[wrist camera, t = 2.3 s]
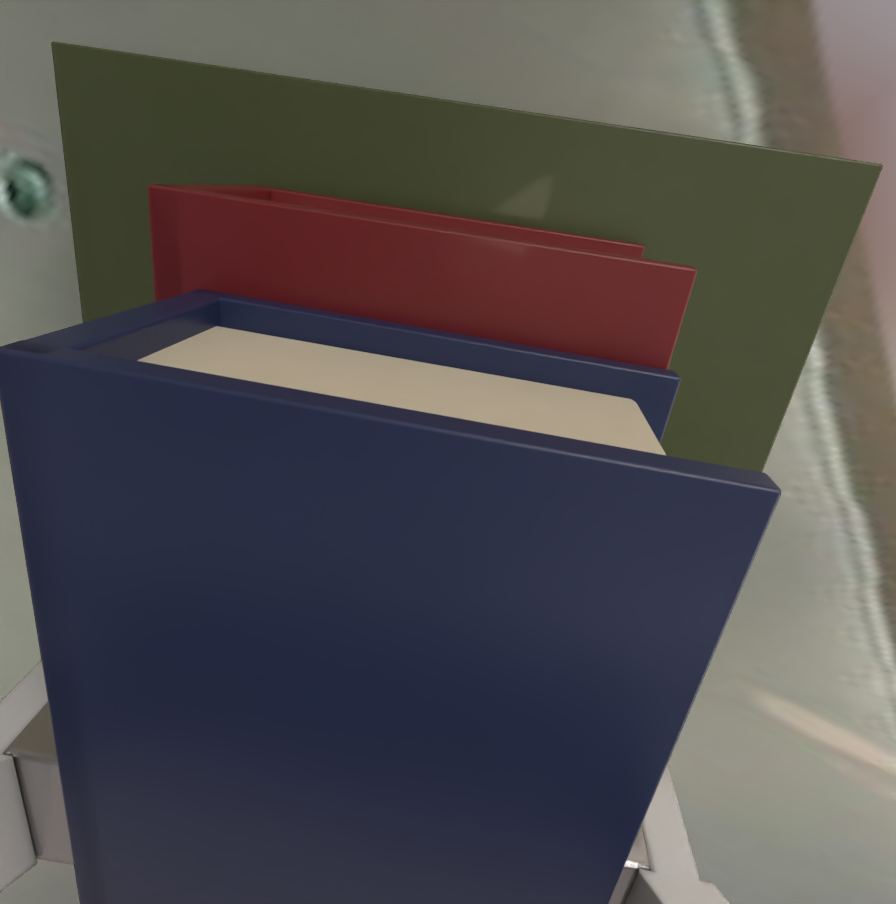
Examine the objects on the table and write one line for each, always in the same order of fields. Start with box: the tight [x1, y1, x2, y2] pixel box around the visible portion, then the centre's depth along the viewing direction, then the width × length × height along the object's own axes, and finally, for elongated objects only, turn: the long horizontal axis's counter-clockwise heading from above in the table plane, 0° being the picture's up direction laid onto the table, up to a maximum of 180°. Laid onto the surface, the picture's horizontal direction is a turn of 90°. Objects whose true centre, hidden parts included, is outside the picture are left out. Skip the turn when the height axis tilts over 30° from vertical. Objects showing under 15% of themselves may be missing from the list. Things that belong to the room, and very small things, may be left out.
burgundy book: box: [147, 184, 697, 370], centre depth 10 cm, size 13×6×3 cm, turn 172°
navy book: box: [0, 289, 781, 904], centre depth 8 cm, size 11×6×3 cm, turn 171°
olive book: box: [51, 42, 883, 473], centre depth 13 cm, size 16×12×3 cm
